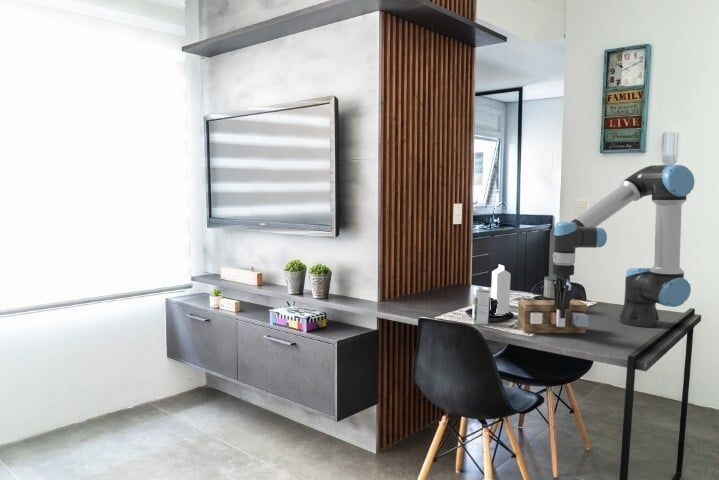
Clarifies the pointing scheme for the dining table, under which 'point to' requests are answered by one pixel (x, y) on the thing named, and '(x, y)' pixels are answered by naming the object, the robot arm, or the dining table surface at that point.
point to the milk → (501, 289)
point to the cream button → (535, 317)
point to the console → (545, 309)
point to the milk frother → (548, 288)
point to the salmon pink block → (553, 317)
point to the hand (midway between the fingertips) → (560, 326)
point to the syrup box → (480, 305)
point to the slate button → (579, 319)
